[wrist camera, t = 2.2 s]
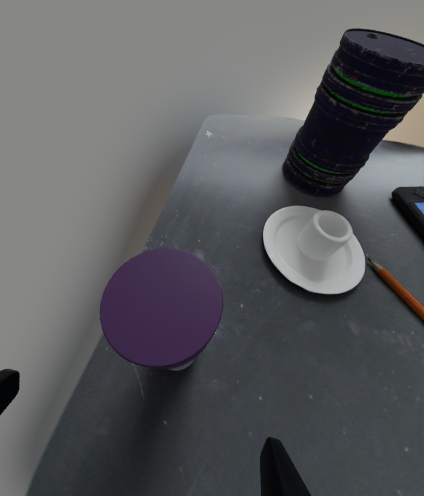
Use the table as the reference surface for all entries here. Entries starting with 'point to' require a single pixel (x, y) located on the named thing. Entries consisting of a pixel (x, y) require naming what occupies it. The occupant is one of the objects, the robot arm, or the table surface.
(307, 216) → the candle holder
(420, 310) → the pencil
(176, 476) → the table surface
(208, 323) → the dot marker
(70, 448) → the table surface
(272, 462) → the robot arm
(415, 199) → the game console
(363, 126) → the dark blue cylinder
